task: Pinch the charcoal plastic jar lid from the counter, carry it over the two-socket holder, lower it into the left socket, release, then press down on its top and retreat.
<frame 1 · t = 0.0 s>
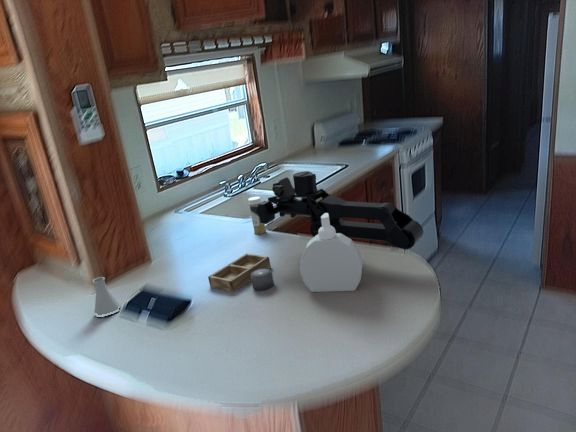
hand: (259, 203, 151), 17 cm above the worktop, tool horizontal, fingers open, 9 cm apart
flask: (108, 312, 131), on the worktop
lid: (263, 286, 132), on the worktop
sprinkles bottle: (260, 232, 175), on the worktop
soap bottle: (334, 287, 125), on the worktop
holder: (241, 276, 140), on the worktop
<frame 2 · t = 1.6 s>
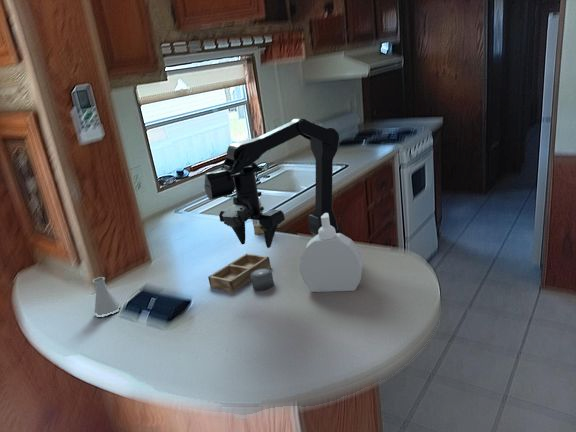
hand: (255, 245, 128), 12 cm above the worktop, tool pointing down, fingers open, 9 cm apart
nothing on the worktop moved.
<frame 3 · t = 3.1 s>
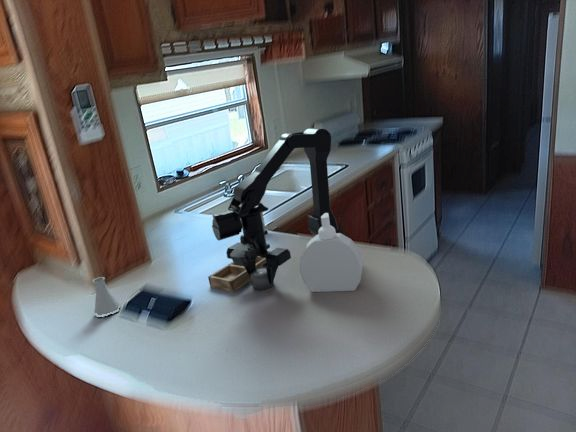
hand: (262, 281, 131), 1 cm above the worktop, tool pointing down, fingers closed on lid, 6 cm apart
lid: (263, 285, 132), on the worktop, touching gripper
everything else where it was.
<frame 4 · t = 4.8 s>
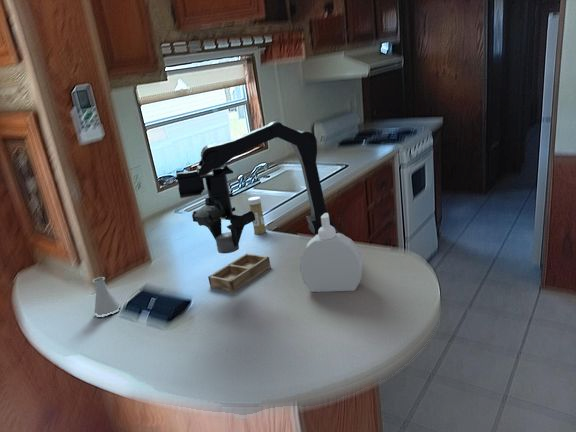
hand: (227, 245, 132), 12 cm above the worktop, tool pointing down, fingers closed on lid, 6 cm apart
lid: (228, 249, 132), point 11 cm above the worktop, touching gripper
everything else where it was.
when the fingers open (4 cm above the worktop, at t = 6.8 s): lid drops 2 cm, resting on holder.
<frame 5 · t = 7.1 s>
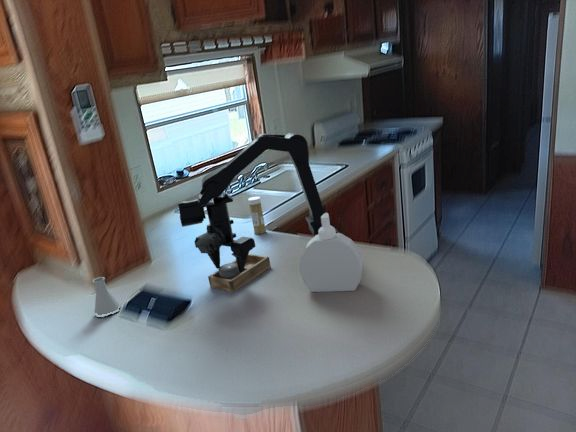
hand: (229, 270, 136), 4 cm above the worktop, tool pointing down, fingers open, 9 cm apart
lid: (231, 279, 137), point 1 cm above the worktop, touching holder
everything else where it was.
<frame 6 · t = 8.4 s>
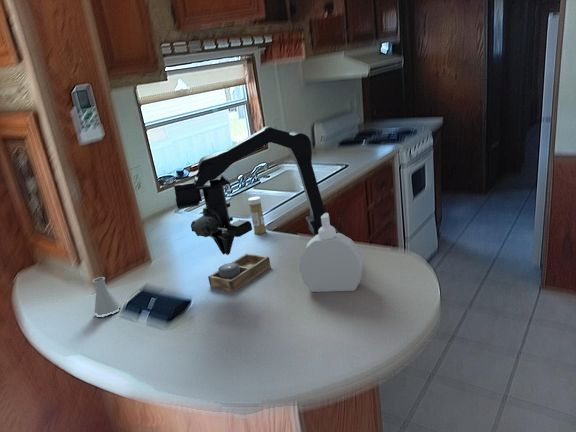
hand: (226, 254, 134), 9 cm above the worktop, tool pointing down, fingers closed
nothing on the worktop moved.
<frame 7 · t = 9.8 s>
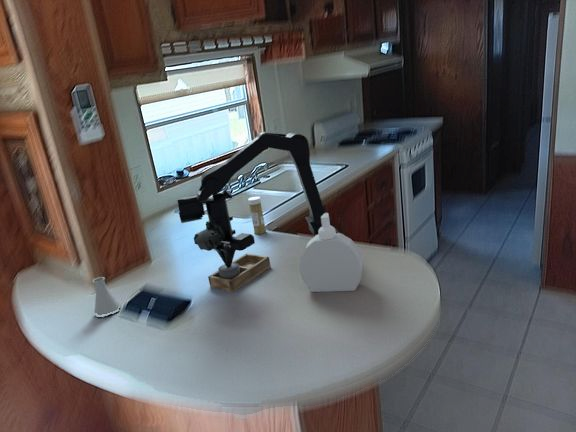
hand: (228, 266, 135), 5 cm above the worktop, tool pointing down, fingers closed, pressing on lid
lid: (231, 279, 137), point 1 cm above the worktop, touching gripper, holder
everything else where it was.
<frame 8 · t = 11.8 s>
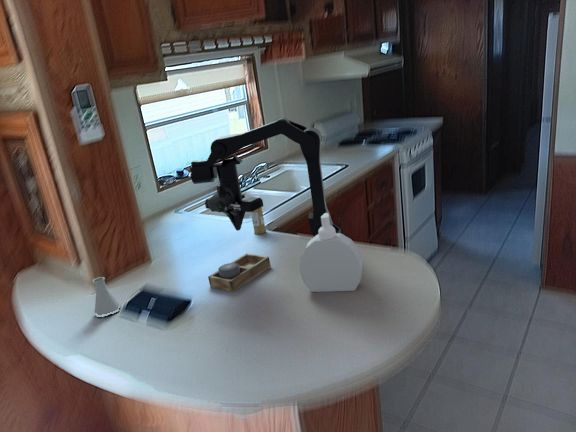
hand: (238, 230, 142), 12 cm above the worktop, tool pointing down, fingers closed
lid: (231, 279, 137), point 1 cm above the worktop, touching holder
everything else where it was.
at the end: lid 0.1 cm from the target spot on the holder, point 0.9 cm above the holder's base; lid tilted 0°; the gripper is holding nothing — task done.
